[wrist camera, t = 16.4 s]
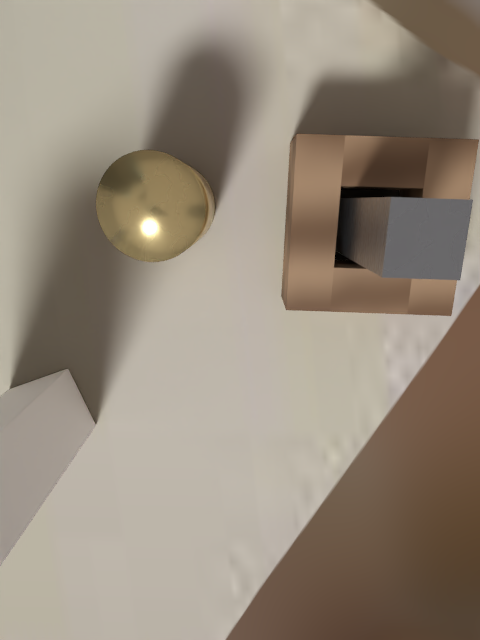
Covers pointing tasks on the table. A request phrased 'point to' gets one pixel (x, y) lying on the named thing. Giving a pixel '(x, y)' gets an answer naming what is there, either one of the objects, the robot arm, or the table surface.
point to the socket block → (323, 208)
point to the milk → (36, 447)
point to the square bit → (405, 235)
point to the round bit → (153, 205)
